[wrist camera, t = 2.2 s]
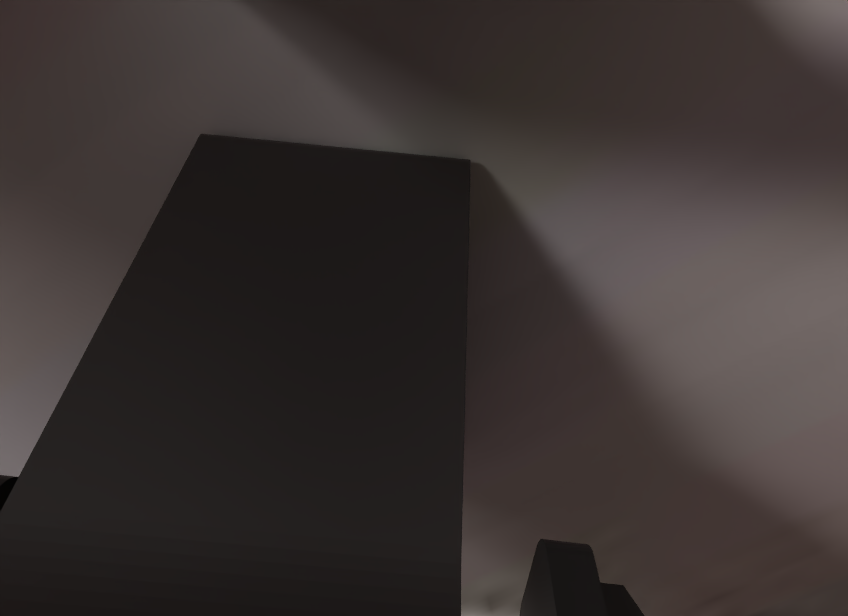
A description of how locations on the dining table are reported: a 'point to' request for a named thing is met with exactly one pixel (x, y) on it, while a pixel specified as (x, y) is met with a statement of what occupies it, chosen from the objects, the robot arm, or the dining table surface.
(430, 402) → the phone stand
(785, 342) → the dining table surface
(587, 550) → the robot arm
